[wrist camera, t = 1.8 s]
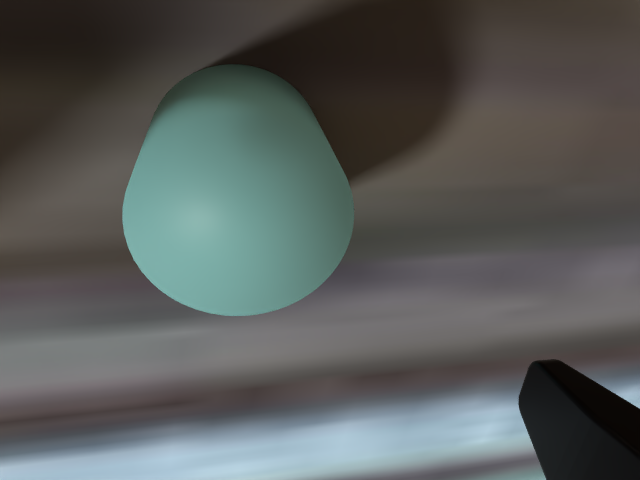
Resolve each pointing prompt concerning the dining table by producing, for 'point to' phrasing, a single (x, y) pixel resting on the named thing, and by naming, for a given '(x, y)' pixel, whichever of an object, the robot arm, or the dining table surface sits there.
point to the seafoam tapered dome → (237, 195)
